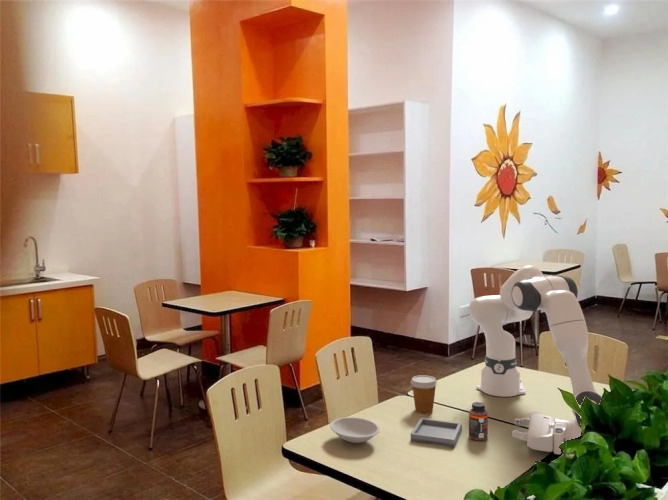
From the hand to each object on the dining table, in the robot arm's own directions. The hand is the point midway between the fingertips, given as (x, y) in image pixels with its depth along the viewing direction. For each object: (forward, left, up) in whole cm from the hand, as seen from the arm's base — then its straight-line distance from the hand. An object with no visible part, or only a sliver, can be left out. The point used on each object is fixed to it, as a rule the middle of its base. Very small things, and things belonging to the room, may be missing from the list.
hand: (513, 427), depth 181 cm
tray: (+3, -24, -5) cm, 25 cm away
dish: (+16, -48, -5) cm, 51 cm away
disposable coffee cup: (-17, -33, -5) cm, 37 cm away
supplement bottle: (0, -11, -5) cm, 12 cm away
